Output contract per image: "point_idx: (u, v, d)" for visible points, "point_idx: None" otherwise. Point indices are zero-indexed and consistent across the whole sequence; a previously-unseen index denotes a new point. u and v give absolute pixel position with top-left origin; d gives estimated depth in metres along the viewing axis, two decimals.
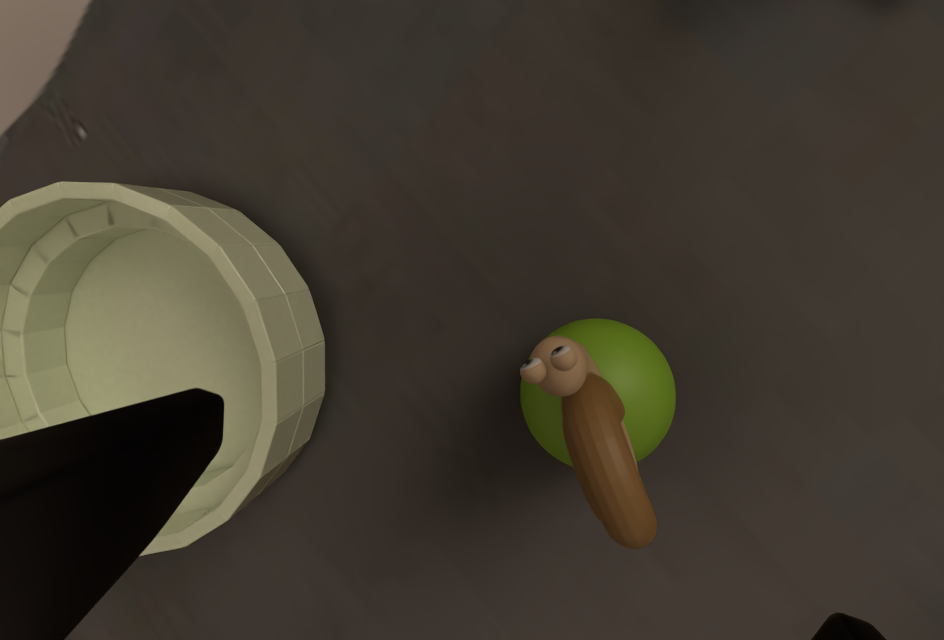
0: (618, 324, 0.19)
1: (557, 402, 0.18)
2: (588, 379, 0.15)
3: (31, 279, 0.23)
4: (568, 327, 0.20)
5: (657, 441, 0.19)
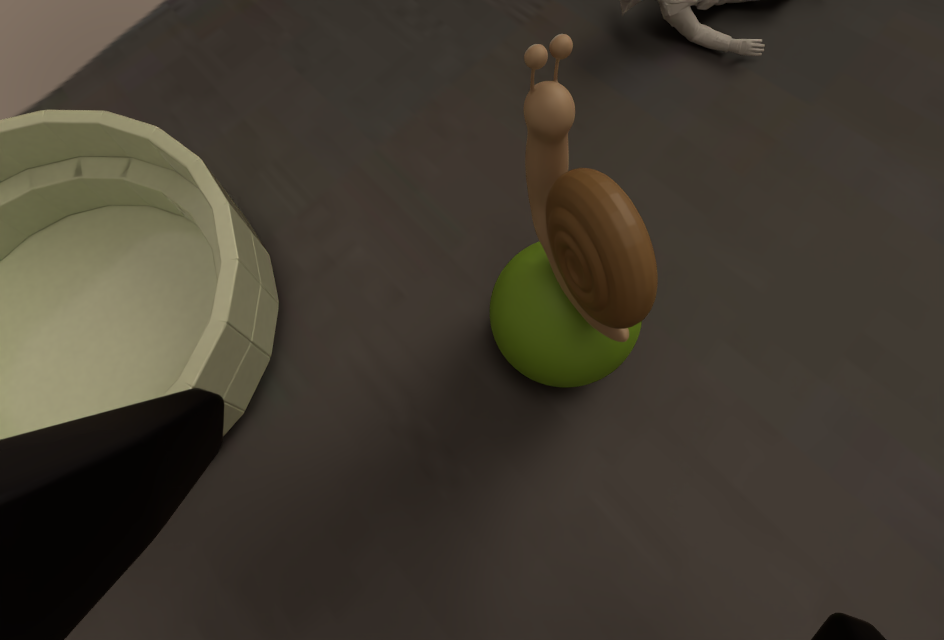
0: None
1: (533, 278, 0.18)
2: None
3: None
4: None
5: (632, 326, 0.19)
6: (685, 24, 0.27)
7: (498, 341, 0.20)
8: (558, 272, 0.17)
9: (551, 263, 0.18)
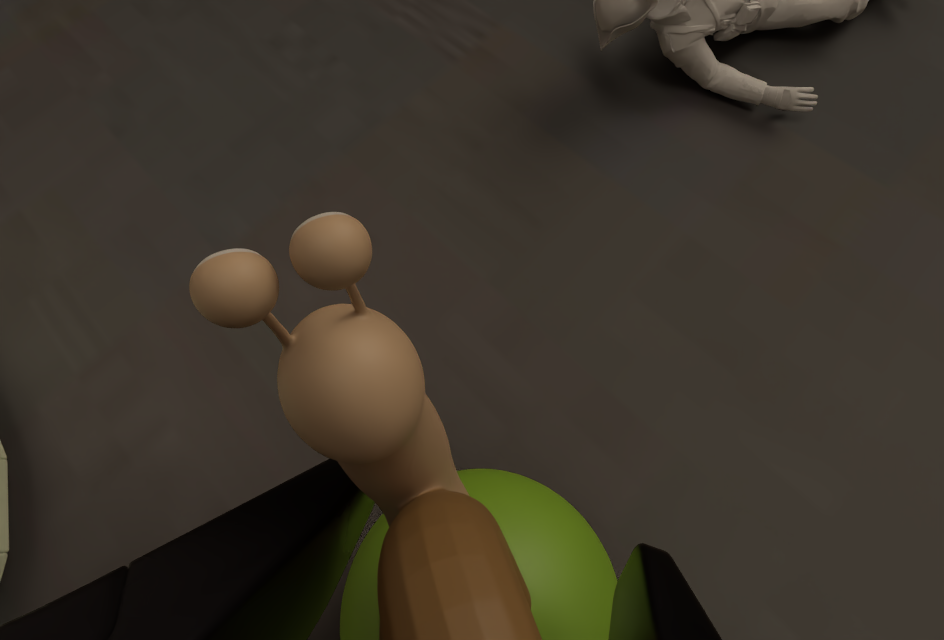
0: (516, 474, 0.12)
1: None
2: (446, 491, 0.07)
3: None
4: None
5: None
6: (696, 63, 0.18)
7: None
8: None
9: None
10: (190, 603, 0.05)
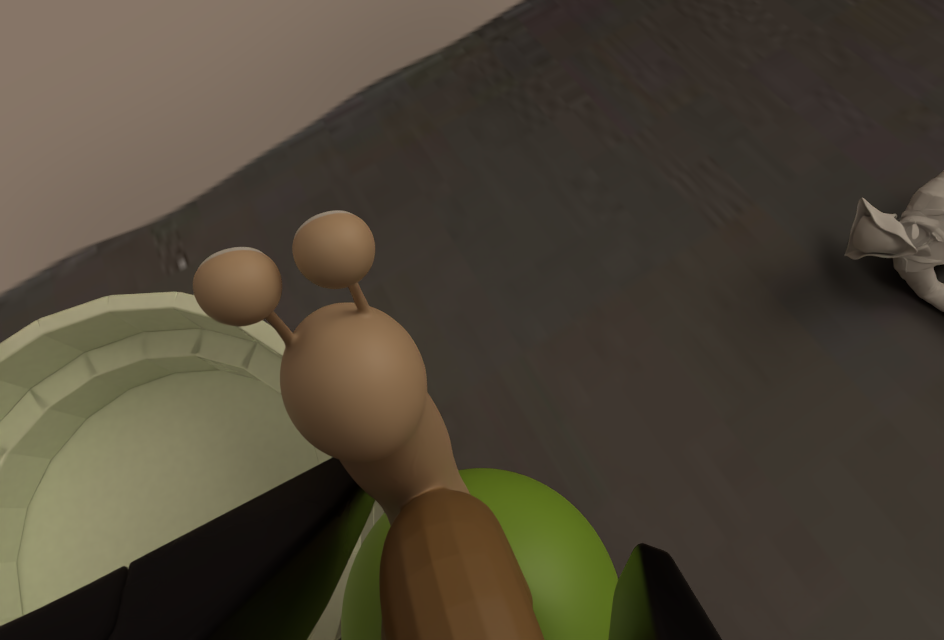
0: (517, 473, 0.12)
1: None
2: (448, 489, 0.07)
3: (60, 390, 0.19)
4: None
5: None
6: (921, 282, 0.22)
7: None
8: None
9: None
10: (190, 603, 0.05)
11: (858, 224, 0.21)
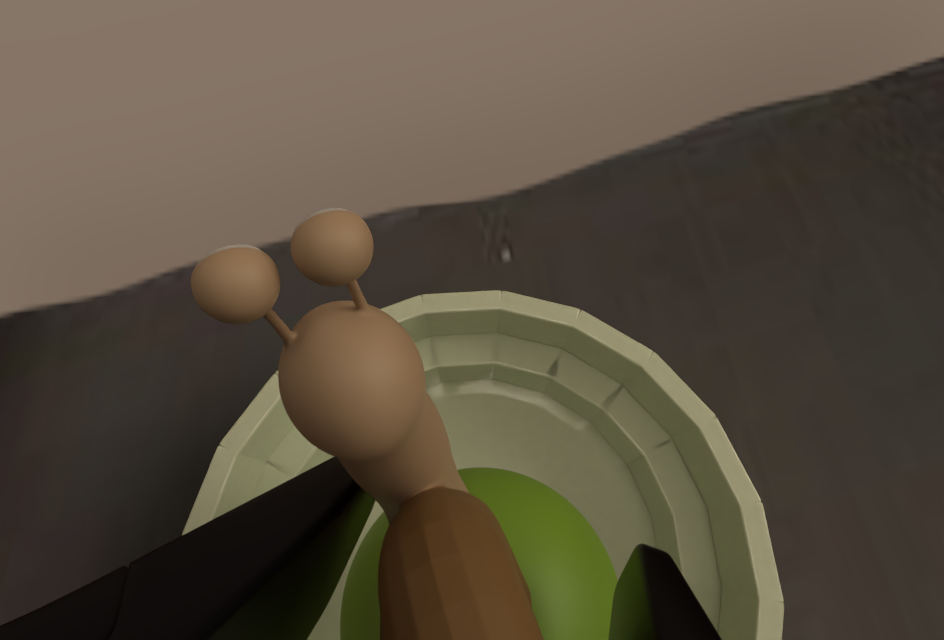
0: (516, 472, 0.12)
1: None
2: (447, 488, 0.07)
3: None
4: None
5: None
6: None
7: None
8: None
9: None
10: (190, 603, 0.05)
11: None
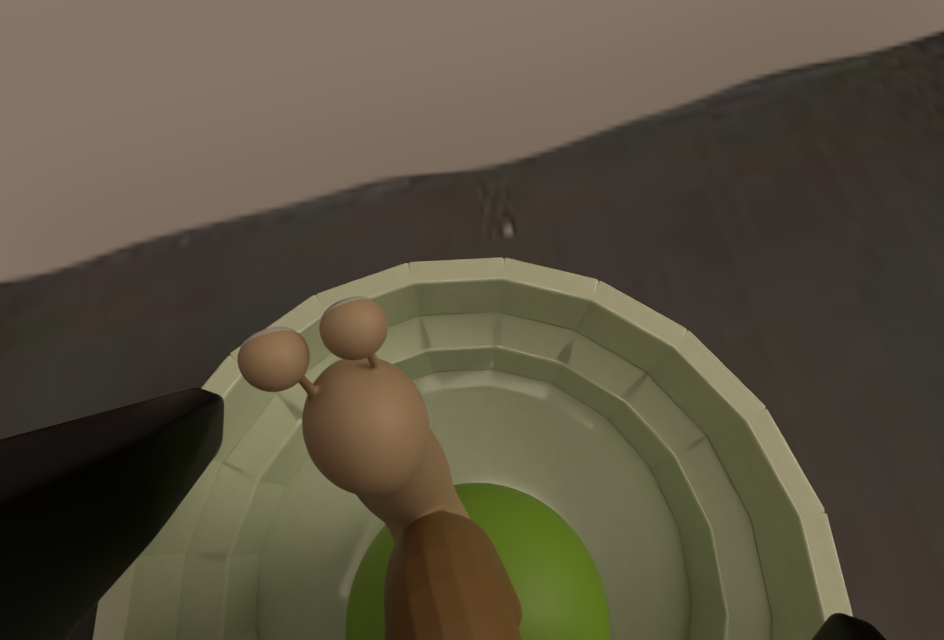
0: (512, 488, 0.12)
1: None
2: (445, 513, 0.07)
3: (383, 356, 0.14)
4: None
5: None
6: None
7: None
8: None
9: None
10: None
11: None
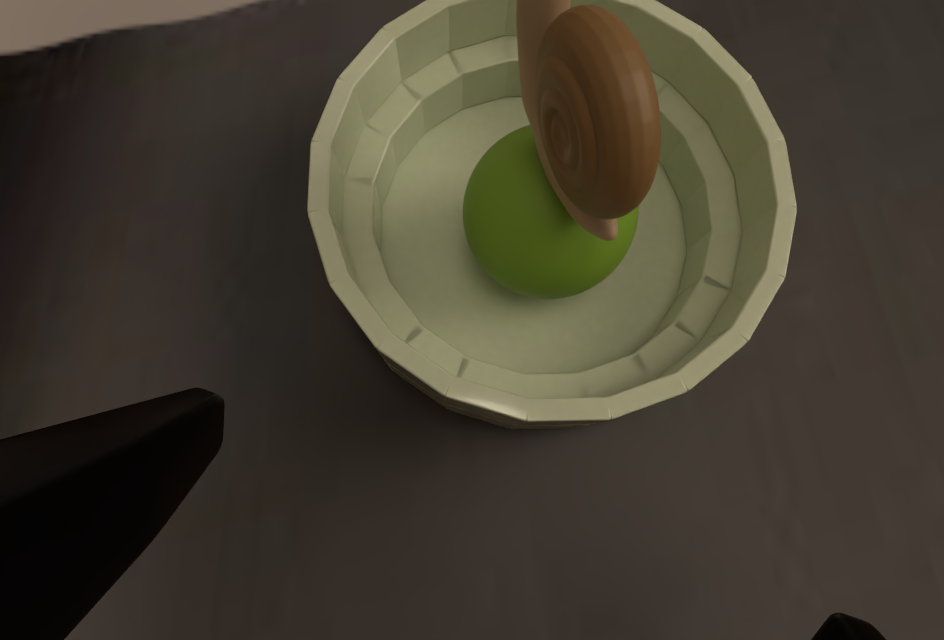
0: None
1: (514, 162, 0.16)
2: None
3: (477, 62, 0.20)
4: None
5: (624, 232, 0.16)
6: None
7: (468, 237, 0.17)
8: (543, 153, 0.14)
9: (537, 142, 0.15)
10: None
11: None
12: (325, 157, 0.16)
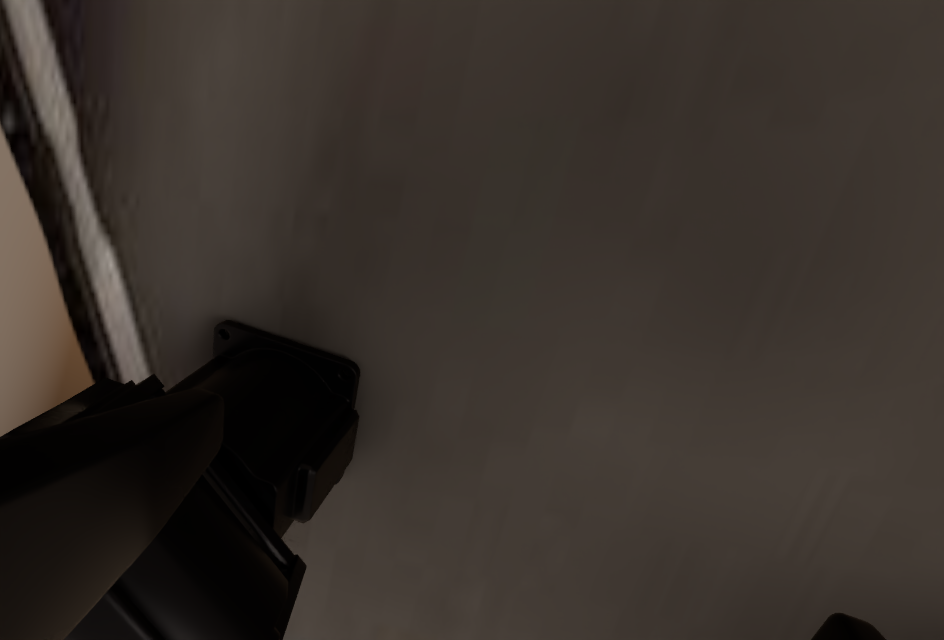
0: None
1: None
2: None
3: None
4: None
5: None
6: None
7: None
8: None
9: None
10: None
11: None
12: None
